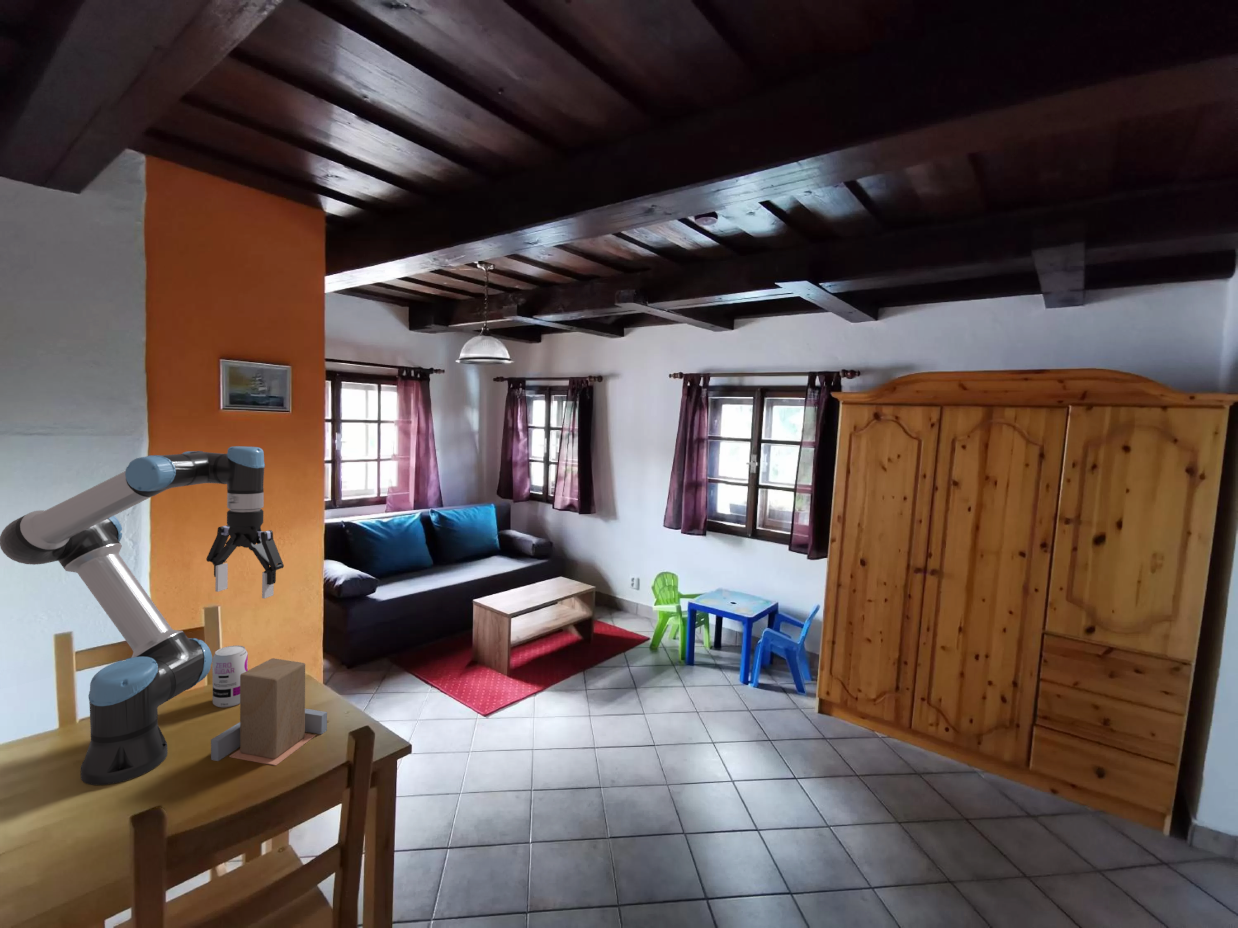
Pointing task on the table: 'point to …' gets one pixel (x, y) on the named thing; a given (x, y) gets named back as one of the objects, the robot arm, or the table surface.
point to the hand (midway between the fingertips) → (244, 593)
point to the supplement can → (228, 675)
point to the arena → (231, 742)
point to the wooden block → (272, 707)
